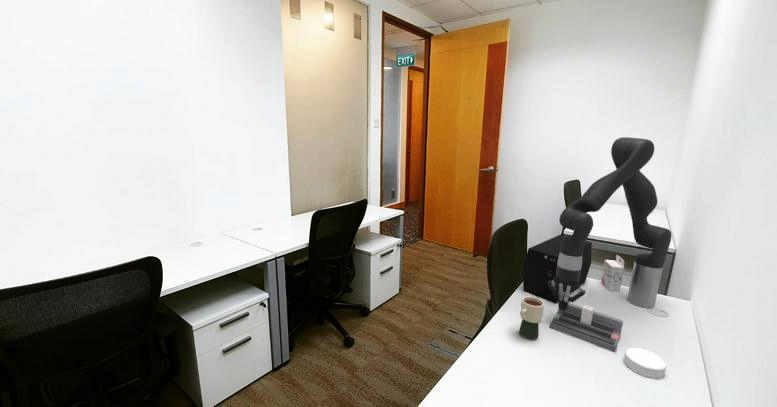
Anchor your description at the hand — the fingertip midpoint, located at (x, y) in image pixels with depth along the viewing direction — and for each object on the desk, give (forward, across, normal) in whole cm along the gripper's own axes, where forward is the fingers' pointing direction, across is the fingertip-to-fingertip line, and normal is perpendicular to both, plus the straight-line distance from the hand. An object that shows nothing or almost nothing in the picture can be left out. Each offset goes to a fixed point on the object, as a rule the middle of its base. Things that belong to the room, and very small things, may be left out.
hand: (562, 309), depth 123 cm
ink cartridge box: (+6, -9, -48) cm, 49 cm away
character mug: (+6, +6, +16) cm, 18 cm away
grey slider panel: (+6, -8, 0) cm, 10 cm away
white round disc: (+6, -25, +8) cm, 27 cm away
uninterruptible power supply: (+6, +10, -30) cm, 32 cm away
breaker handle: (+3, -8, 0) cm, 8 cm away
